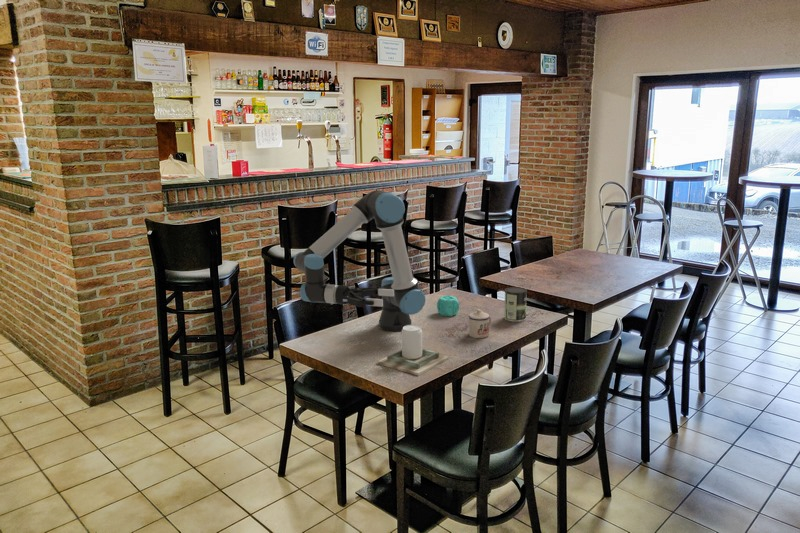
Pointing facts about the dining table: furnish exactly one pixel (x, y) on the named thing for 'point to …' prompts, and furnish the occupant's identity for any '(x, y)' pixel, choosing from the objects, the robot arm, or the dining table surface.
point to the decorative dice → (448, 305)
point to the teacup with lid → (479, 324)
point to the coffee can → (515, 304)
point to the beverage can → (411, 342)
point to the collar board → (413, 362)
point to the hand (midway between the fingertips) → (388, 297)
